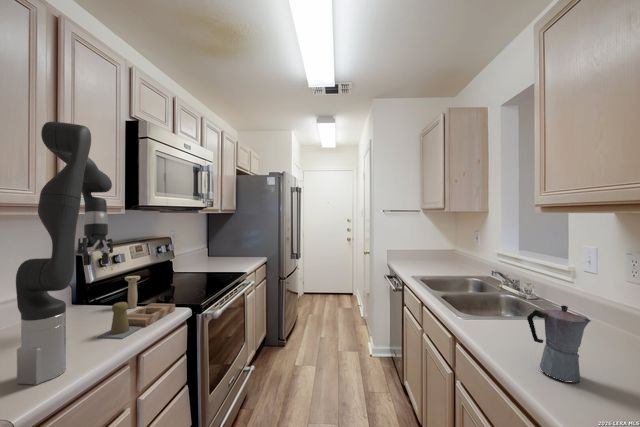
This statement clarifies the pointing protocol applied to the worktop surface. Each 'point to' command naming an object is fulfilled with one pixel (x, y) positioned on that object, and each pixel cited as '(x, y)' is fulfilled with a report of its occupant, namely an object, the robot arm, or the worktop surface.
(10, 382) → the worktop surface
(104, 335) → the rubber mat
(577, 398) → the worktop surface
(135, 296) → the handle
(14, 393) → the worktop surface
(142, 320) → the wooden compartment tray
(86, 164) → the robot arm
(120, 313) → the cork
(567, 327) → the moka pot
